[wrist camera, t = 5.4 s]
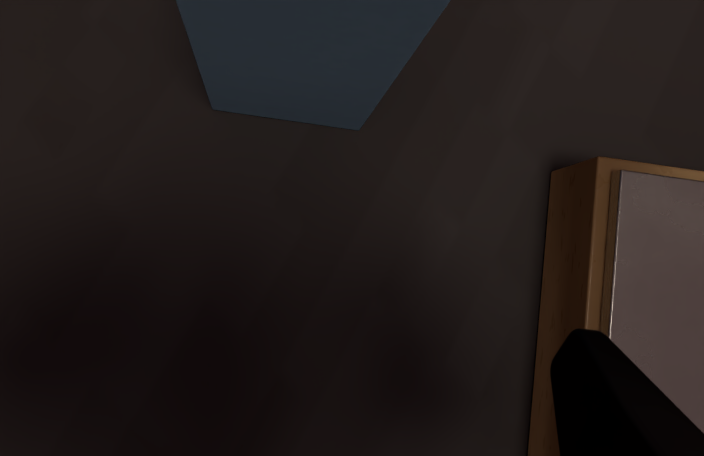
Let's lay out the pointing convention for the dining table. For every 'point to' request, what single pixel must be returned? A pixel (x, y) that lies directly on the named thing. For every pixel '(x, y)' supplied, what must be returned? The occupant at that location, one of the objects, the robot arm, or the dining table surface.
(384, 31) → the packet
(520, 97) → the dining table surface
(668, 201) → the stand
